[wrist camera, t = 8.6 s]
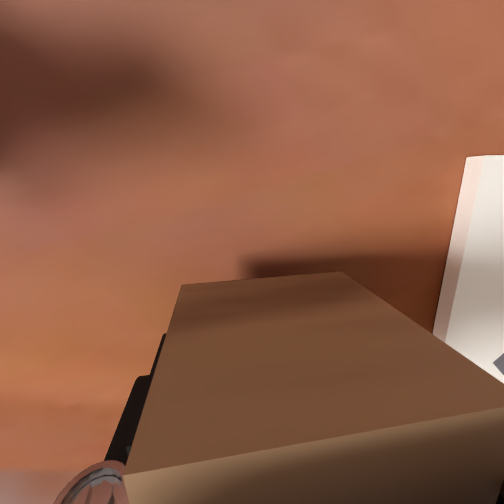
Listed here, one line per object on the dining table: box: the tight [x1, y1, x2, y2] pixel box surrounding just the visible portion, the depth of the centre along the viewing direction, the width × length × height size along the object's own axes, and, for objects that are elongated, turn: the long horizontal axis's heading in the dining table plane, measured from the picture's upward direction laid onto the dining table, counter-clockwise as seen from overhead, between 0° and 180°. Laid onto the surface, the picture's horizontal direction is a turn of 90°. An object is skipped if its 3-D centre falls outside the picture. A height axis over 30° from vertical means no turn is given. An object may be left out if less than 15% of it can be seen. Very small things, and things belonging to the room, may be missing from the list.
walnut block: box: [123, 271, 504, 504], centre depth 7 cm, size 6×6×6 cm
